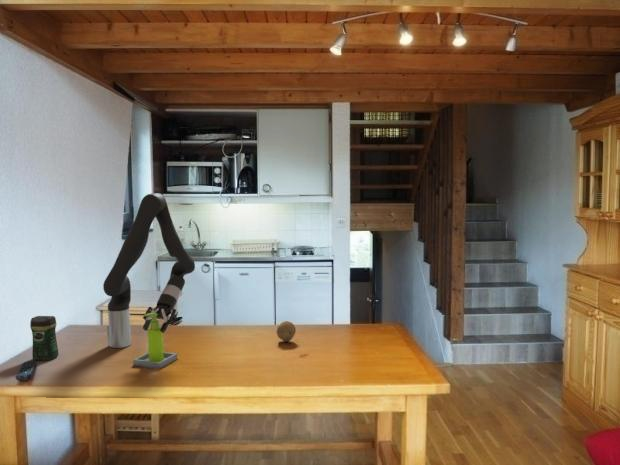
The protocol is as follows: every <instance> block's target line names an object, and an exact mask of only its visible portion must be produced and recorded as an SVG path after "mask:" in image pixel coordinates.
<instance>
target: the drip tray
mask: <svg viewBox="0 0 620 465" xmlns="http://www.w3.org/2000/svg"><path fill="white" fill-rule="evenodd" d="M163 353H164V360H162V361H160V362H153V361H149V351H148V352H146V353H144V354H142V355H140V356H138V357H136V358H134V359H132V364H133V366H135V367H142V368H147V369H156V370H161V369H163V368H164V367H166V366H168V365H171V364H172V363H173V362H175V361H176V360H178V353H175V352H168V351H163Z"/></svg>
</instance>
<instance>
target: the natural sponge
mask: <svg viewBox="0 0 620 465" xmlns="http://www.w3.org/2000/svg"><path fill="white" fill-rule="evenodd" d="M296 332H297V330H296V326H295V325H294V323H293V322H291V321H287V320H285V321H283V322H281V323H280V324H279V325H278V326H277V328H276V334H277V338H279V339H280V340H282V341H283V342H285V343H289V342H291V340H292V339H293V338H294V337H295V334H296Z"/></svg>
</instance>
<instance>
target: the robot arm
mask: <svg viewBox="0 0 620 465" xmlns="http://www.w3.org/2000/svg"><path fill="white" fill-rule="evenodd" d="M155 218H156V220H157V222H158V225H159V228H160V233H161V238H162V242H163V244H164V246H165V249H166V250H167V252H168V254H169V256H170V258H171V257H172V258H175V259H177V261H175V263H173V266H171V267H172V268H171V270H170V275H169V279H168V281H167V283H166V285H165V287H164V288H163V290H162V291H161V293H160V295H159V297H158V300H157V301H156V306H155V307H152V306H149V307H147V310H146V312H145V313H144V315H145V314H148V313H158V315H157V320H164V321H163V322H162V325H161V326H160V328H161V329H160V331H161V332H162V333H163V334H164V333H165V332H166V330H167V329H168V327H169V326H170V325H174V323H175V322H176V318H177V317H178V314H179V312H178V310H177V309H175V307H176V306H177V303H178V300H179V298H180V295H181V293H182V291H183V288H184V286H185V283H186V280H185V279H184V277H185V276H186V275H188V274H192V273H193V272H194V271H195V270H196V263H195V261H194V258H192V256H191V255H190V254H189V252H188V251H187V250H186V248H185V247H184V245H183V243H182V241H181V239H180V236H179V235H178V233H177V230H176V227H175V225H174V222H173V219H172V216H171V213H170V210H169V206H168V202H167V199H166V197H165V196H164V195H163V194H161V193H157V192H154V193H152V192H151V193H149V194H146V195H145V196H143V198H142V199H141V201H140V204H139V206H138V210H137V212H136V217H135V219H134V221H133V223H132V224H131V227H130V229H129V231H128V233H127V235H126V236H125V239H124V241H123V244H122V246H121V248H120V250H119V253H118V255H117V257H116V260H115V262H114V264H113V266H112V268H111V270H110V271H109V272H108V275H107V276H106V277H105V280H104V282H103V285H102V286H103V287H102V289H103V291H104V294H105V295H107V296H108V297H111V299H110V301H109V302H108V304H107V316H108V318H107V319H108V325H107V326H106V331H107V332H106V334H107V335H106V336H107V346H108V347H110V348H112V349H122V348H126V347H129V346H130V345H131V344H132V340H131V335H132V334H131V320H130V319H131V317H130V316H131V315H130V314H131V313H130V304H131V300H132V299H131V297H132V296H131V293H132V290H131V288H132V287H131V281H130V279H129V277H128V274H129V271H130V270H132V268H133V266H135V264H136V263H137V261H138V260H139V259H140V258H141V256H142V254H144V250H145V249H146V246H147V243H148V240H149V236H150V228H151V226H152V224H153V222H154V220H155ZM144 315H143V316H142V319H143V320H144V321H145V322H144V324H143V326H142V329H143V331H147V332H148V330H149V329H150V327H151V323H150V322H151V321H152V316H144Z"/></svg>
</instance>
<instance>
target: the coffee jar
mask: <svg viewBox="0 0 620 465" xmlns="http://www.w3.org/2000/svg"><path fill="white" fill-rule="evenodd" d="M29 328H30V330H31V335H32V351H31V352H32V360H33V361H50V360H54V359H56V358H58V356H59V347H58V341H57V334H56V333H57V332H56V328H57V319H56V317H55V316H54V315H36V316H33V317H31V319H30V327H29Z"/></svg>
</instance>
